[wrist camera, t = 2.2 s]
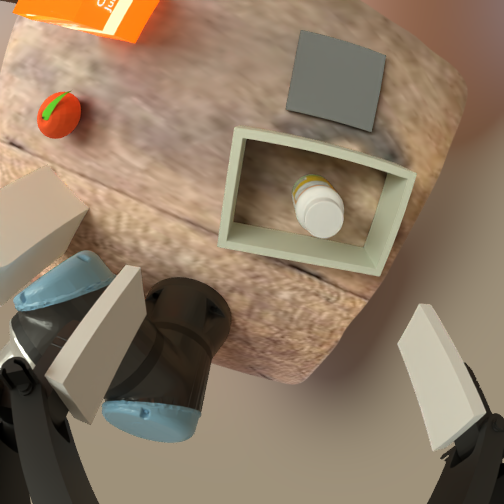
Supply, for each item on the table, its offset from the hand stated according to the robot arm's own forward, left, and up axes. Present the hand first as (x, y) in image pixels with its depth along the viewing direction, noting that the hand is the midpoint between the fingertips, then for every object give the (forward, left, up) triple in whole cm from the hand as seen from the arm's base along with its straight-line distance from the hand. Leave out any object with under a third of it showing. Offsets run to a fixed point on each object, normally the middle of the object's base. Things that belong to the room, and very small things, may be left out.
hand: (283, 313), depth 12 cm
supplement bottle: (-1, -5, -26) cm, 27 cm away
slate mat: (+15, -5, -26) cm, 30 cm away
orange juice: (+22, +24, -26) cm, 42 cm away
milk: (-10, +36, -26) cm, 46 cm away
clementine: (+7, +31, -26) cm, 41 cm away
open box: (-1, -5, -26) cm, 26 cm away
